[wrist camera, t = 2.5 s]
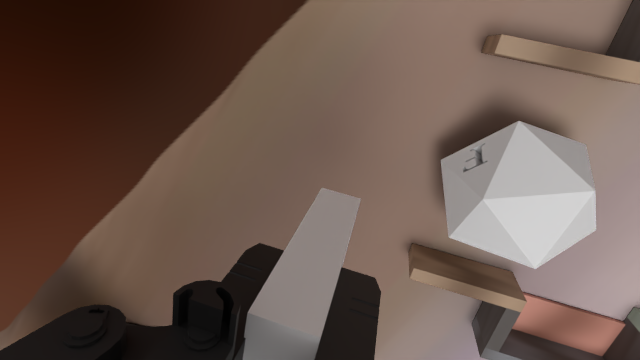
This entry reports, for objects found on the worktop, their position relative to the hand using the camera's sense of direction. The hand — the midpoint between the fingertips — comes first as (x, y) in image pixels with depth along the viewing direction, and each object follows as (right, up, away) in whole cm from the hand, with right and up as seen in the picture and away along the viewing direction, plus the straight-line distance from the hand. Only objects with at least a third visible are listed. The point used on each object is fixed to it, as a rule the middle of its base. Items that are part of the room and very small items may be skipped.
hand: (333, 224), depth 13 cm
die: (+12, +2, +12) cm, 17 cm away
